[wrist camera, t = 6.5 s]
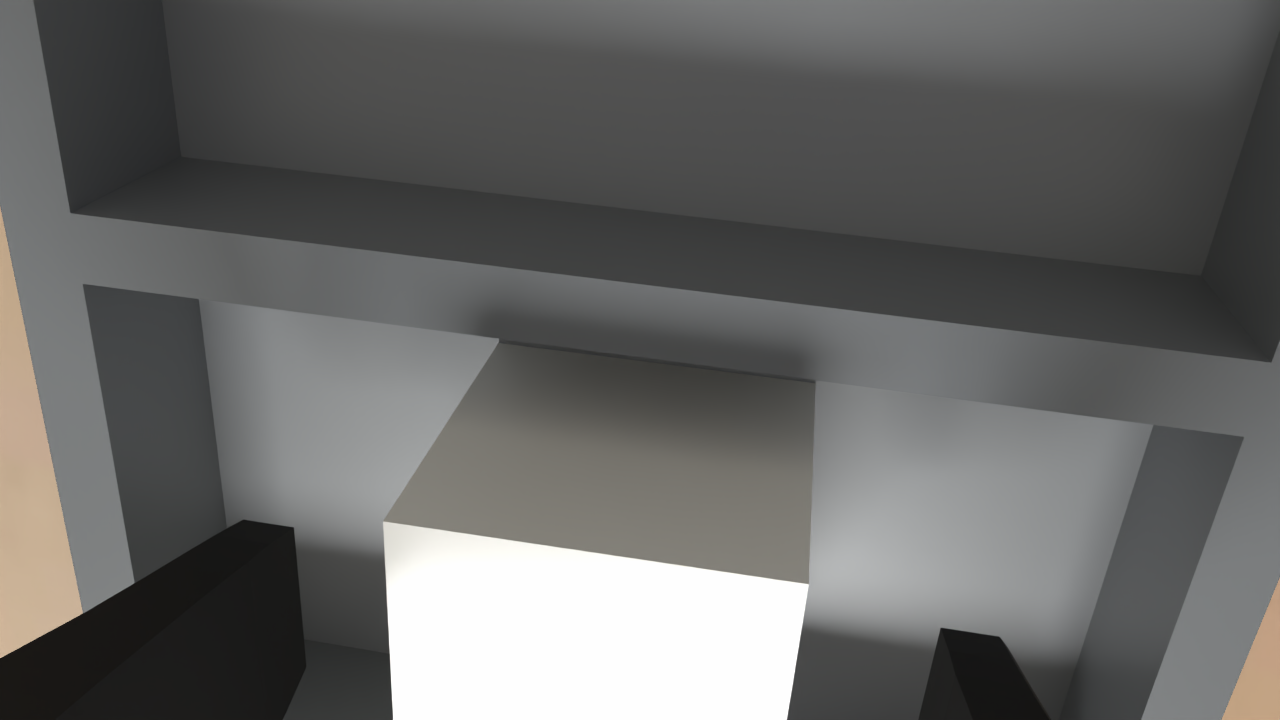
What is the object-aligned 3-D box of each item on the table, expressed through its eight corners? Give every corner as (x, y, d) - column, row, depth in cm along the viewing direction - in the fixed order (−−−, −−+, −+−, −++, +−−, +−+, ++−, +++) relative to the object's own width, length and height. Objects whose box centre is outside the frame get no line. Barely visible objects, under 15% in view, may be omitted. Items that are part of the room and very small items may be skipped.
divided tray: (1526, -545, 9) (1798, -690, 7) (1078, 769, 16) (1125, 953, 14) (58, -598, 11) (-191, -734, 8) (221, 626, 18) (114, 766, 15)
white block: (816, 382, 13) (808, 584, 10) (777, 637, 15) (759, 885, 12) (498, 342, 14) (381, 521, 10) (497, 594, 16) (398, 820, 12)
